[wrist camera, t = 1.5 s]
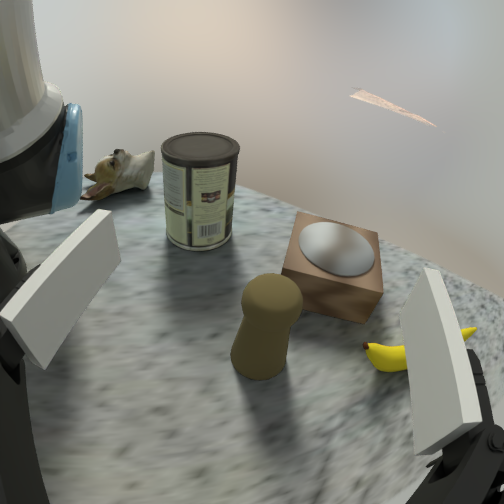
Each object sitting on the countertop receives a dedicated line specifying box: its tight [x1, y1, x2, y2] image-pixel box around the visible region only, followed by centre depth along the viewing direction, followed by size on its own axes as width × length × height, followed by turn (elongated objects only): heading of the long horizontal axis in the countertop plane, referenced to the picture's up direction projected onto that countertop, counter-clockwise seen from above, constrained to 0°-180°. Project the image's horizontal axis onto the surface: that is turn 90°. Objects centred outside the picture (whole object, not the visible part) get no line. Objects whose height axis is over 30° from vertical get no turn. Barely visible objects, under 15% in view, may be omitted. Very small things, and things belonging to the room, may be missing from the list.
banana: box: [363, 327, 477, 372], centre depth 30 cm, size 3×19×6 cm, turn 97°
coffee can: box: [161, 132, 240, 251], centre depth 42 cm, size 10×10×14 cm
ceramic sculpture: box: [80, 149, 155, 201], centre depth 51 cm, size 11×9×15 cm
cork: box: [230, 273, 303, 380], centre depth 28 cm, size 6×6×11 cm
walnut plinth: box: [281, 211, 383, 324], centre depth 39 cm, size 12×12×6 cm
